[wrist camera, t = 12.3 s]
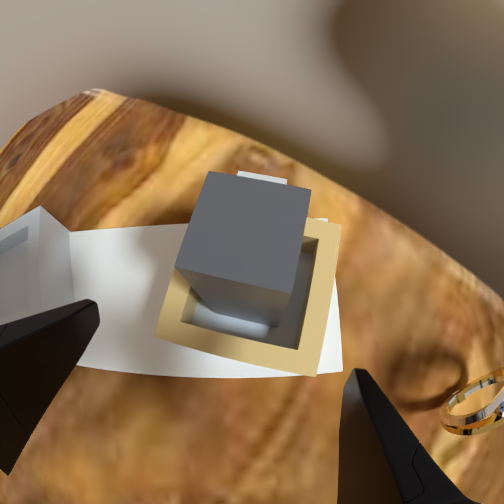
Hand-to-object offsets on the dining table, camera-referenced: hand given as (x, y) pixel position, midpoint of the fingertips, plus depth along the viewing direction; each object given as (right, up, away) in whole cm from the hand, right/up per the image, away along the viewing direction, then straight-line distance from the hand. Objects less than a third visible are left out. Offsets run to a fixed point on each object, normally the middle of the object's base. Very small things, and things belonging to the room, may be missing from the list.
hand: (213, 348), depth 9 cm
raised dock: (-17, -1, +12) cm, 21 cm away
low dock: (+1, 0, +11) cm, 12 cm away
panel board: (-8, 0, +12) cm, 14 cm away
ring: (+17, -8, +8) cm, 21 cm away
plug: (+1, +1, +10) cm, 10 cm away
